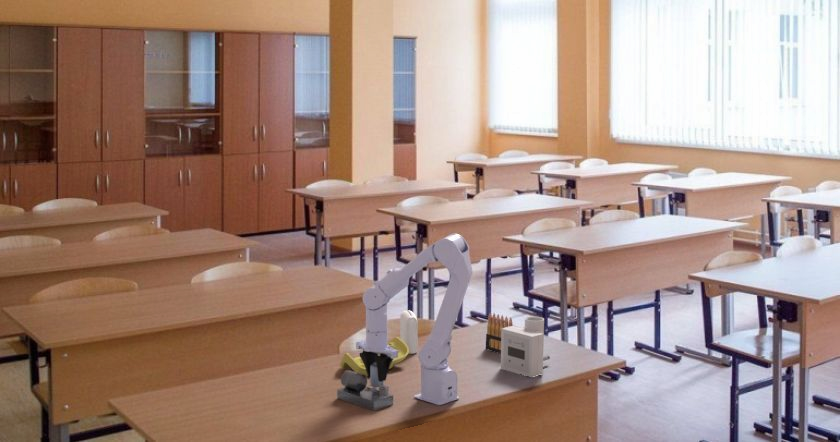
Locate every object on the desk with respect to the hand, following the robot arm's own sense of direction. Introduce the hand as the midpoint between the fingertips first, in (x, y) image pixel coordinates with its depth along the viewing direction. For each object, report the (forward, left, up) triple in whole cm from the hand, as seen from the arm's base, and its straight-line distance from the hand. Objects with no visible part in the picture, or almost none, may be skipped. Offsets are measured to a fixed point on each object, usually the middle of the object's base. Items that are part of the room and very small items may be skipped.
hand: (376, 379), depth 269 cm
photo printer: (+23, -36, -4) cm, 43 cm away
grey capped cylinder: (0, 0, -2) cm, 2 cm away
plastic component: (+16, -15, -4) cm, 22 cm away
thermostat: (-17, -47, -4) cm, 50 cm away
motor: (-4, +8, -3) cm, 10 cm away
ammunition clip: (+1, -54, -4) cm, 54 cm away
